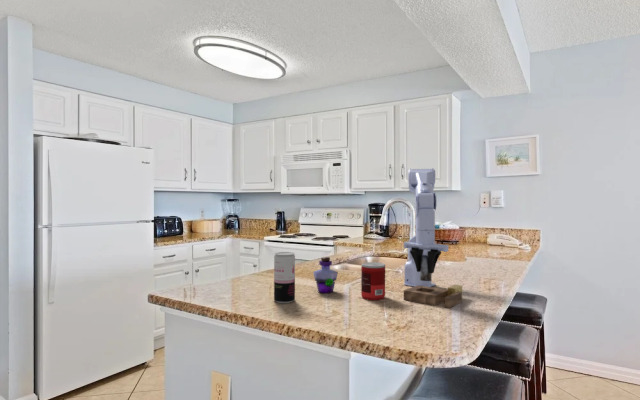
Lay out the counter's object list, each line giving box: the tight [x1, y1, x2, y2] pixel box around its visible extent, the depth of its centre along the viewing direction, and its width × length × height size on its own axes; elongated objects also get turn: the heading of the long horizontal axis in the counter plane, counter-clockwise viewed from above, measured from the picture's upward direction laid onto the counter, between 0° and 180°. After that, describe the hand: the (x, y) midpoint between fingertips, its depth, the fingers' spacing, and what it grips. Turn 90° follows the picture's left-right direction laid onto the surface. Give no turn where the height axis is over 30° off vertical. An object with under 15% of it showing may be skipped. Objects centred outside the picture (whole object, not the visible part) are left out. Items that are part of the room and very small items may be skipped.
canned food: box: [360, 261, 386, 301], centre depth 129 cm, size 8×8×11 cm
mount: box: [403, 285, 463, 309], centre depth 125 cm, size 15×10×3 cm, turn 50°
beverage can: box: [273, 251, 296, 304], centre depth 125 cm, size 6×6×15 cm
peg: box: [420, 255, 433, 281], centre depth 127 cm, size 4×4×8 cm
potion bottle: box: [312, 256, 338, 295], centre depth 137 cm, size 9×9×12 cm
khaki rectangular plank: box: [447, 284, 463, 296], centre depth 128 cm, size 2×6×4 cm, turn 140°
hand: (425, 272), depth 127 cm, fingers closed on peg, 4 cm apart
